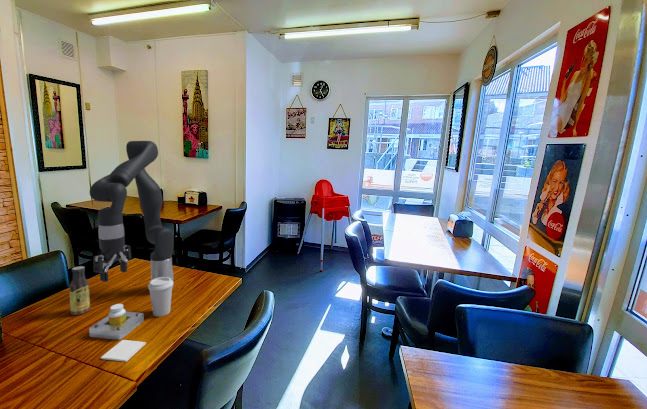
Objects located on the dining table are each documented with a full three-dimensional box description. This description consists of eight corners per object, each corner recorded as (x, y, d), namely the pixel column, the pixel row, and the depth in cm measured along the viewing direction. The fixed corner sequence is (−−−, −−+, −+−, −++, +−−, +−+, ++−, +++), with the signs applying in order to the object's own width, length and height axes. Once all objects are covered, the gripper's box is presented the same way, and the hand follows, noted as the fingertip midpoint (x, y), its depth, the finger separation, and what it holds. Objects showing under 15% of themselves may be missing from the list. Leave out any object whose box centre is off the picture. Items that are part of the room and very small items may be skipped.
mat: (122, 341, 98) (122, 339, 98) (145, 343, 97) (145, 342, 97) (101, 358, 89) (100, 357, 89) (126, 361, 89) (126, 360, 88)
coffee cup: (179, 310, 119) (178, 279, 117) (158, 321, 111) (157, 287, 108) (165, 304, 123) (164, 274, 121) (144, 314, 115) (142, 282, 112)
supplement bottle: (111, 326, 106) (110, 304, 104) (128, 323, 108) (126, 301, 107) (107, 334, 101) (106, 311, 100) (125, 330, 104) (123, 308, 102)
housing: (116, 318, 111) (116, 309, 110) (143, 321, 110) (143, 312, 110) (89, 336, 99) (89, 327, 99) (120, 339, 99) (119, 330, 98)
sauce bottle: (78, 317, 110) (74, 272, 107) (66, 314, 111) (62, 270, 108) (94, 308, 117) (91, 266, 113) (83, 306, 118) (79, 264, 115)
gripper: (118, 230, 106) (120, 268, 109) (84, 240, 92) (87, 283, 95) (136, 231, 106) (138, 269, 108) (104, 242, 91) (107, 285, 94)
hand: (114, 276), depth 101 cm, fingers open, 8 cm apart
